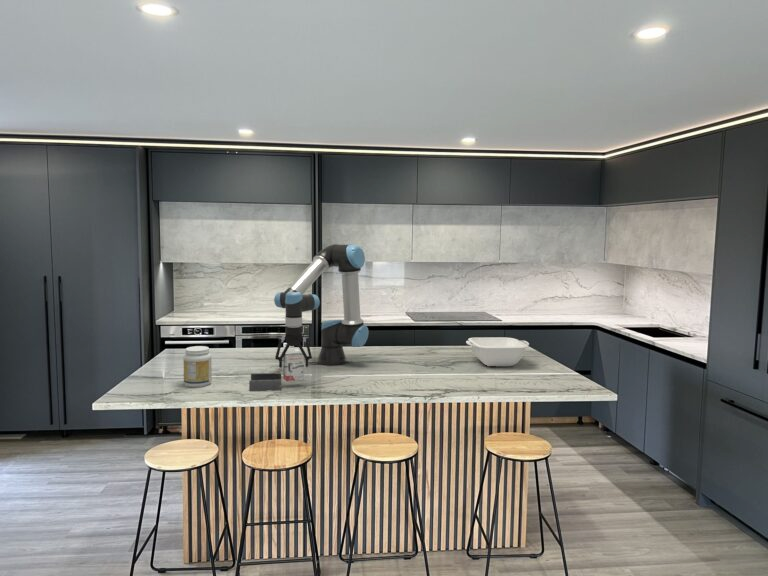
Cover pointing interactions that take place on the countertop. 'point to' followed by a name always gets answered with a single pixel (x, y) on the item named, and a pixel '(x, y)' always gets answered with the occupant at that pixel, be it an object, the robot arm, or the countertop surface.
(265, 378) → the cradle
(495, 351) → the baking dish
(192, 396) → the countertop surface
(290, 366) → the ink box
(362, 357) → the countertop surface
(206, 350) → the supplement tub
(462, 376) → the countertop surface
